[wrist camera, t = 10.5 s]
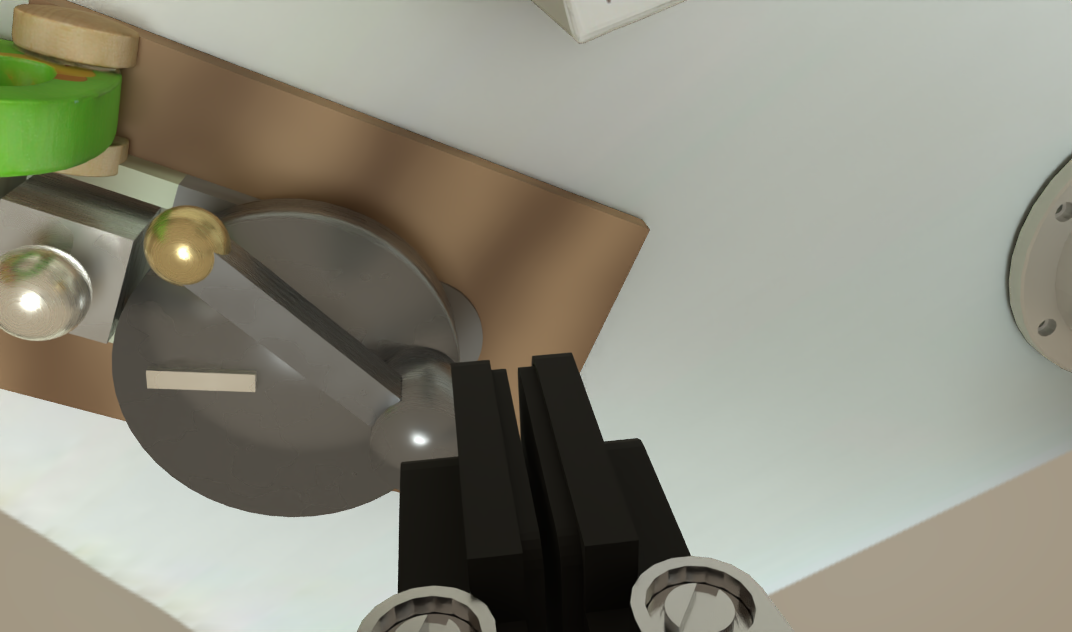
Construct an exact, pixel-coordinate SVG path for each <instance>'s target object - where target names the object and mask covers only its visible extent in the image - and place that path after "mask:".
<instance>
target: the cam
mask: <svg viewBox="0 0 1072 632" xmlns="http://www.w3.org/2000/svg"><path fill="white" fill-rule="evenodd" d="M144 253H145V257H146V260H147V262H148V264H149V266H150V269H149V270H148V271H147V273H146V274H145V276H144V277H143V278H142V280H141V281H140V283H139V284H138V285H137V287H136V288H135V290H134V291H133V292H132V294H131V295H130V297H129V299H128V301H127V303H126V305H125V307H124V309H123V311H122V313H121V315H120V318H119V322H118V325H117V328H116V331H115V335H114V342H113V348H112V376H113V382H114V388H115V394H116V397H117V400H118V403H119V405H120V408H121V411H122V414H123V416H124V418H125V420H126V422H127V424H128V426H129V428H130V430H131V431H132V433H133V434H134V436H135V437H136V439H137V440H138V442H139V443H140V444H141V446H142V447H143V448H144V450H145V451H146V452H147V453H148V454H149V455H150V456H151V457H152V458H153V460H154V461H155V462H156V463H157V464H158V465H159V466H161V467H162V468H163V469H164V470H165V471H166V472H168V473H169V474H170V475H171V476H172V477H174V478H175V479H177V480H178V481H179V482H181V483H182V484H184V485H185V486H187V487H188V488H190V489H192V490H194V491H195V492H197V493H199V494H201V495H203V496H205V497H207V498H209V499H211V500H214V501H216V502H219V503H221V504H224V505H226V506H229V507H233V508H236V509H240V510H243V511H247V512H252V513H258V514H263V515H269V516H283V517H305V516H317V515H324V514H331V513H336V512H340V511H344V510H348V509H352V508H355V507H357V506H360V505H363V504H366V503H368V502H371V501H373V500H375V499H377V498H379V497H381V496H383V495H385V494H387V493H389V492H390V491H392V490H393V489H398V490H400V466H401V462H406V461H416V460H426V459H436V458H446V457H456V456H458V447H457V435H456V423H455V411H454V399H453V388H452V376H451V364H450V363H458V362H461V360H460V350H459V341H458V335H457V332H456V325H455V319H454V316H453V312H452V309H451V305H450V302H449V300H448V297H447V295H446V293H445V291H444V288H443V286H442V284H441V283H440V281H439V280H438V278H437V276H436V275H435V273H434V272H433V270H432V268H431V267H430V266H429V265H428V264H427V262H426V261H425V260H424V259H423V258H422V256H421V255H420V254H419V253H418V252H417V251H416V250H415V249H414V248H413V247H412V246H411V245H410V244H409V243H407V242H406V241H405V240H404V239H403V238H402V237H400V236H399V235H398V234H396V233H395V232H393V231H392V230H391V229H389V228H388V227H386V226H385V225H383V224H381V223H379V222H377V221H376V220H374V219H372V218H370V217H368V216H366V215H364V214H361V213H359V212H356V211H354V210H351V209H349V208H346V207H343V206H339V205H335V204H331V203H327V202H323V201H316V200H308V199H301V198H274V199H265V200H257V201H251V202H247V203H243V204H239V205H235V206H232V207H229V208H226V209H224V210H221V211H219V212H216V213H211V212H210V211H208V210H206V209H203V208H201V207H197V206H190V205H182V206H176V207H172V208H170V209H167V210H165V211H163V212H161V213H160V214H159V215H158V216H156V217H155V218H154V219H153V220H152V222H151V223H150V225H149V226H148V228H147V230H146V233H145V237H144Z"/></svg>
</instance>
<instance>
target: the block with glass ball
mask: <svg viewBox="0 0 1072 632" xmlns="http://www.w3.org/2000/svg"><path fill="white" fill-rule="evenodd" d="M160 210H161V207H159V206H156V205H153V204H150V203H147V202H144V201H141V200H138V199H135V198H132V197H129V196H126V195H123V194H120V193H117V192H114V191H111V190H108V189H105V188H102V187H99V186H95V185H92V184H89V183H86V182H83V181H80V180H77V179H74V178H71V177H68V176H65V175H62V174H59V173H54V172H51V173H45V174H38V175H33V176H31V177H30V178H29V179H27V180H26V181H25V182H23V183H22V184H20V185H19V186H18V187H16V188H15V189H13V190H12V191H11V192H9V193H8V194H7V195H5V196H4V197H2V198H1V200H0V329H2V330H3V331H5V332H6V333H8V334H10V335H12V336H15V337H17V338H20V339H24V340H30V341H45V340H51V339H55V338H58V337H61V336H63V335H65V334H67V333H70V334H73V335H77V336H80V337H84V338H87V339H91V340H94V341H98V342H102V343H105V344H107V343H108V342H109V340H110V339H111V337H112V336H113V334H114V333H115V331H116V328H117V325H118V322H119V318H120V315H121V313H122V311H123V309H124V307H125V305H126V303H127V301H128V299H129V297H130V295H131V294H132V292H133V291H134V290H135V288H136V287H137V285H138V284H139V283H140V281H141V280H142V277H143V273H144V269H145V266H146V262H147V260H146V257H145V253H144V237H145V233H146V230H147V228H148V226H149V225H150V223H151V222H152V220H153V219H154V218H155V217H156V216H158V215H159V213H160Z"/></svg>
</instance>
